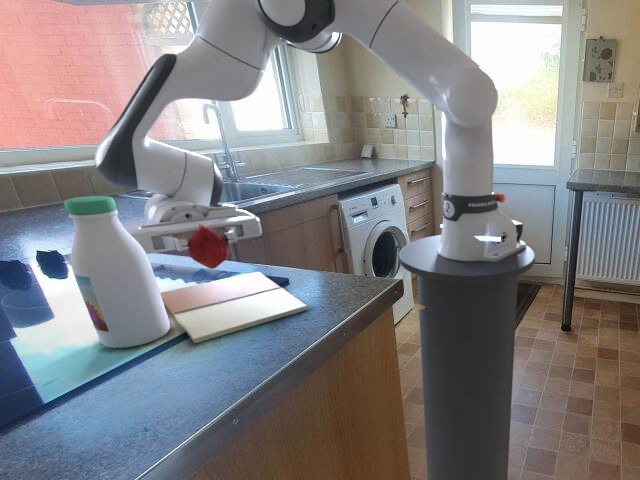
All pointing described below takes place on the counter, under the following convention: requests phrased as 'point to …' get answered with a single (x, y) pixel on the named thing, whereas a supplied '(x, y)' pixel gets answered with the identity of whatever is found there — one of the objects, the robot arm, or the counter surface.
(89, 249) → the milk bottle
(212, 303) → the sorting board
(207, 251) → the onion
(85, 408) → the counter surface
